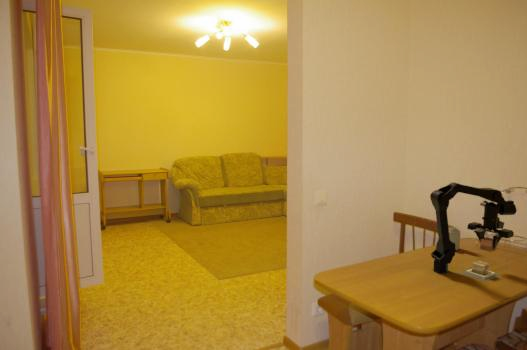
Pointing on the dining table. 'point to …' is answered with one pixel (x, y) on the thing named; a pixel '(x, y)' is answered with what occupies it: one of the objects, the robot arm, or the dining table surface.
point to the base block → (480, 268)
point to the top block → (487, 244)
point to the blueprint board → (484, 278)
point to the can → (455, 236)
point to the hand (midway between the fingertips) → (488, 247)
